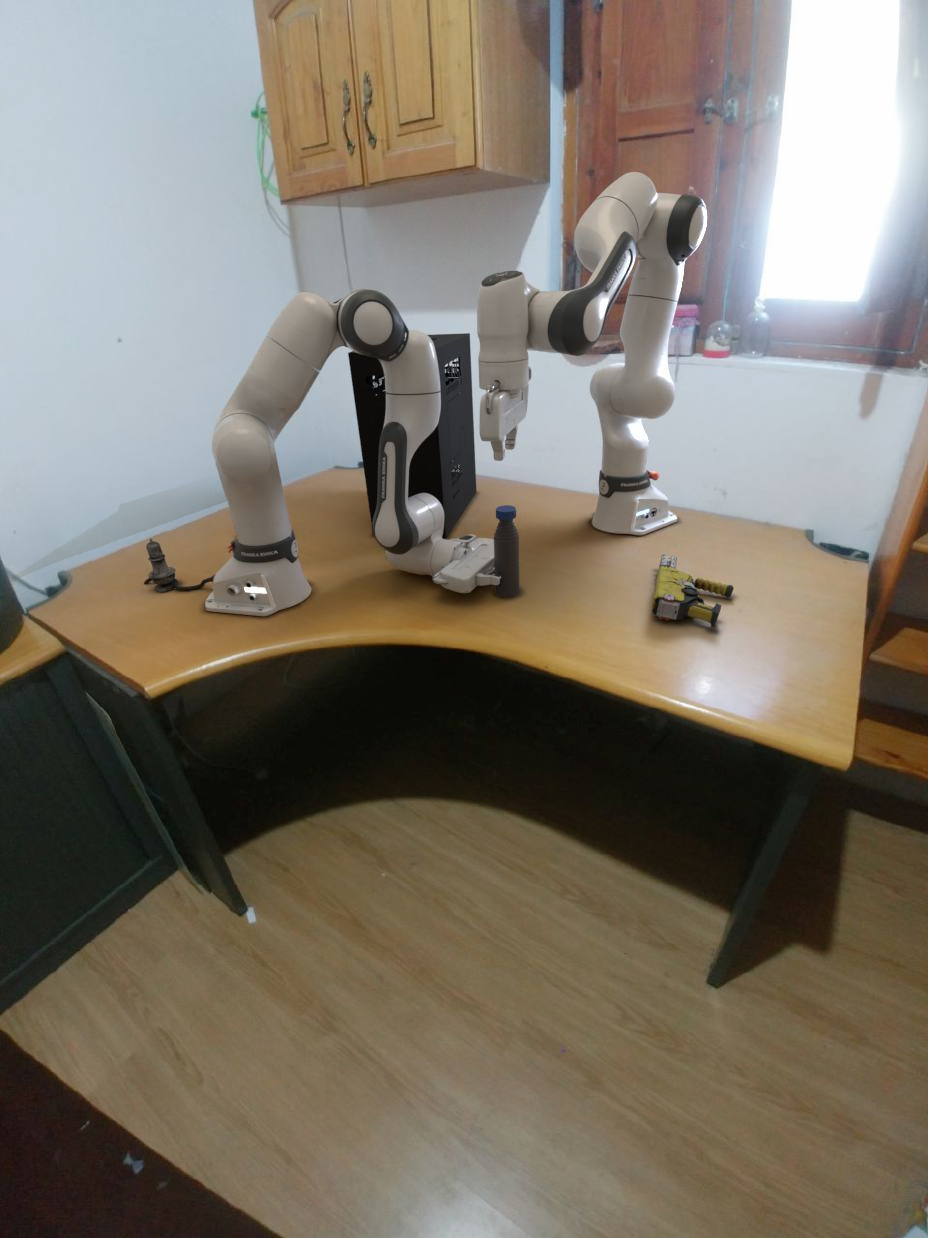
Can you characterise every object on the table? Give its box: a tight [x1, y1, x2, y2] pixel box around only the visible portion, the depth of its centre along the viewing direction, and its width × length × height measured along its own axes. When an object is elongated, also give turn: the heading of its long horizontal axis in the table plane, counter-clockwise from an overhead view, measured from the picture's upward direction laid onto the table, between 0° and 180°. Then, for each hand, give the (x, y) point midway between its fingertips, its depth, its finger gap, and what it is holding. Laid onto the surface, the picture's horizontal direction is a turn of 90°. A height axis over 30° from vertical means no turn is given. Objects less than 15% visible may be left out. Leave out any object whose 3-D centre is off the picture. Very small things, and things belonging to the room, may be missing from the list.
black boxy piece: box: [347, 332, 477, 539], centre depth 163 cm, size 38×20×45 cm, turn 167°
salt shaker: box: [145, 538, 180, 593], centre depth 137 cm, size 6×6×12 cm
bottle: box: [493, 519, 520, 599], centre depth 125 cm, size 5×5×18 cm
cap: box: [495, 504, 517, 521], centre depth 120 cm, size 4×4×2 cm
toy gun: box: [650, 553, 734, 628], centre depth 121 cm, size 5×24×15 cm
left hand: (509, 571), depth 127 cm, fingers open, 8 cm apart
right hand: (505, 454), depth 114 cm, fingers open, 6 cm apart
